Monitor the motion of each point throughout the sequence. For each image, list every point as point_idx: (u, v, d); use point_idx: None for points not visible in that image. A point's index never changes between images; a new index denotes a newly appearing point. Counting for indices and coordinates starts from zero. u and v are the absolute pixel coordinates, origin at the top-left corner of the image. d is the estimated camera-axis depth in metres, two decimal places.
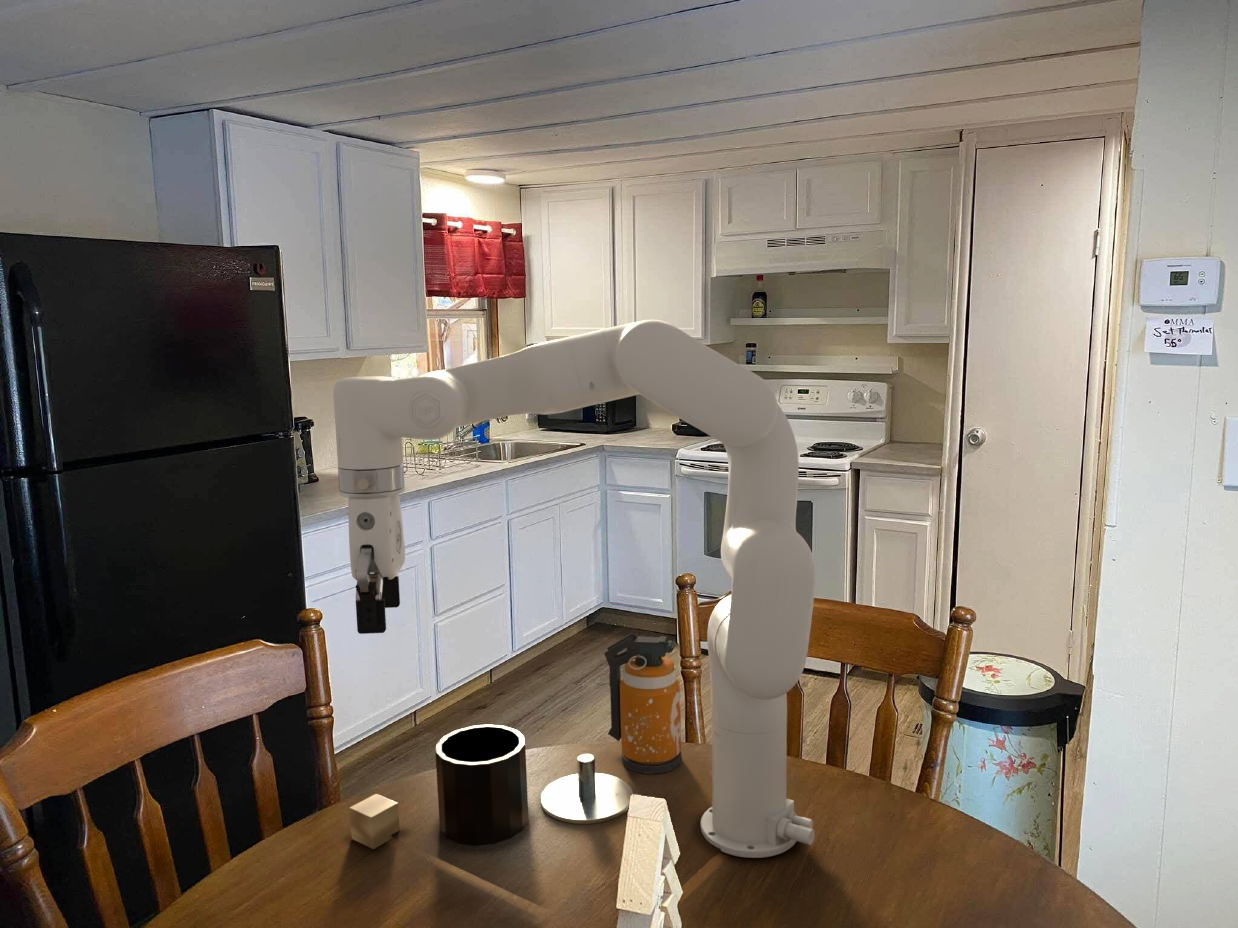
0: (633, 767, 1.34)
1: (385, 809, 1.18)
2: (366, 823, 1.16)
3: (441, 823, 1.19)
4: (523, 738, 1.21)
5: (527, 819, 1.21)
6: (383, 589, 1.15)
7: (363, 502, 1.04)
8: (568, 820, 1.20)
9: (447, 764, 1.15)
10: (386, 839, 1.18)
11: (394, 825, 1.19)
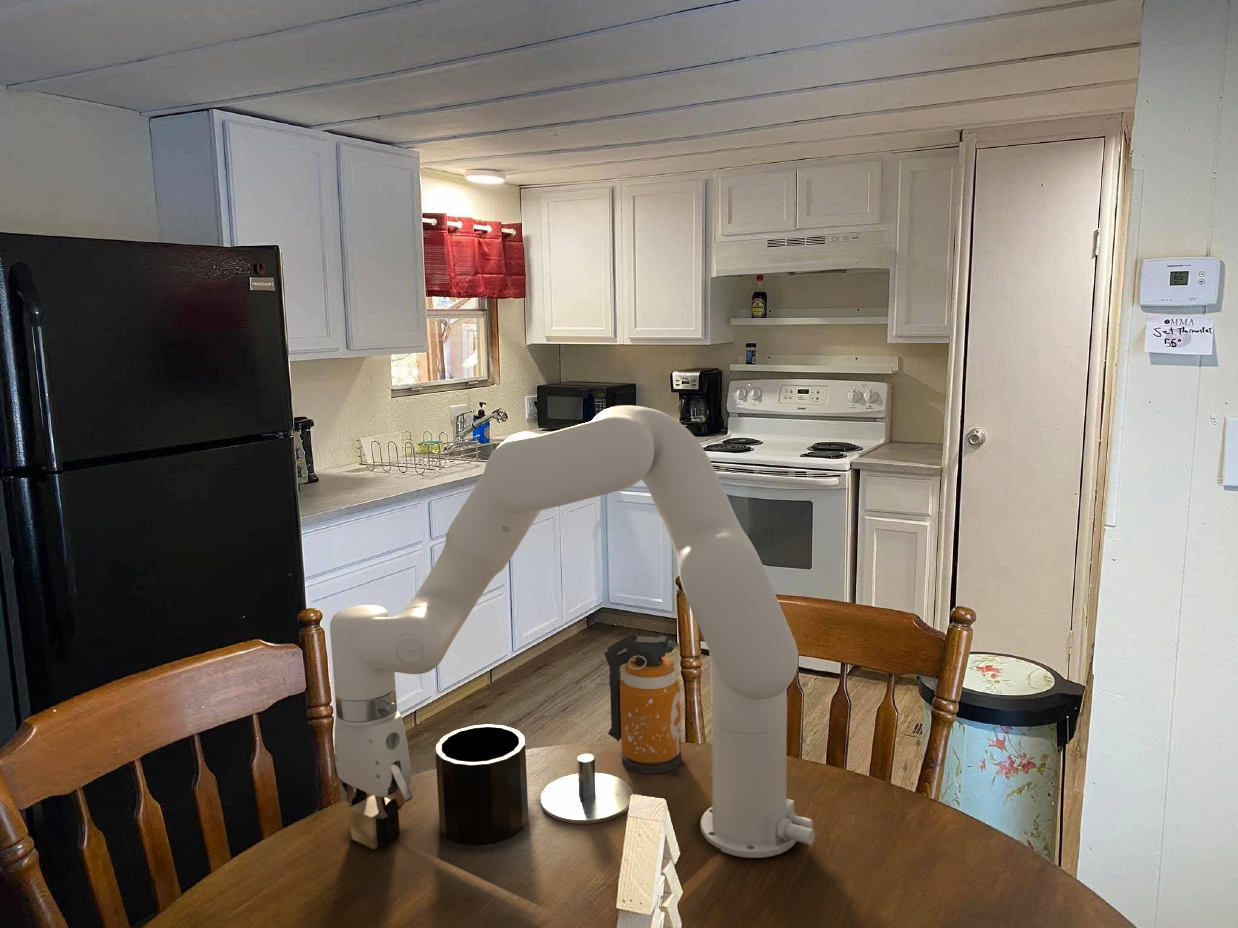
0: (633, 767, 1.34)
1: None
2: (366, 823, 1.16)
3: (441, 823, 1.19)
4: (523, 738, 1.21)
5: (527, 819, 1.21)
6: None
7: (389, 724, 1.14)
8: (568, 820, 1.20)
9: (447, 764, 1.15)
10: None
11: None
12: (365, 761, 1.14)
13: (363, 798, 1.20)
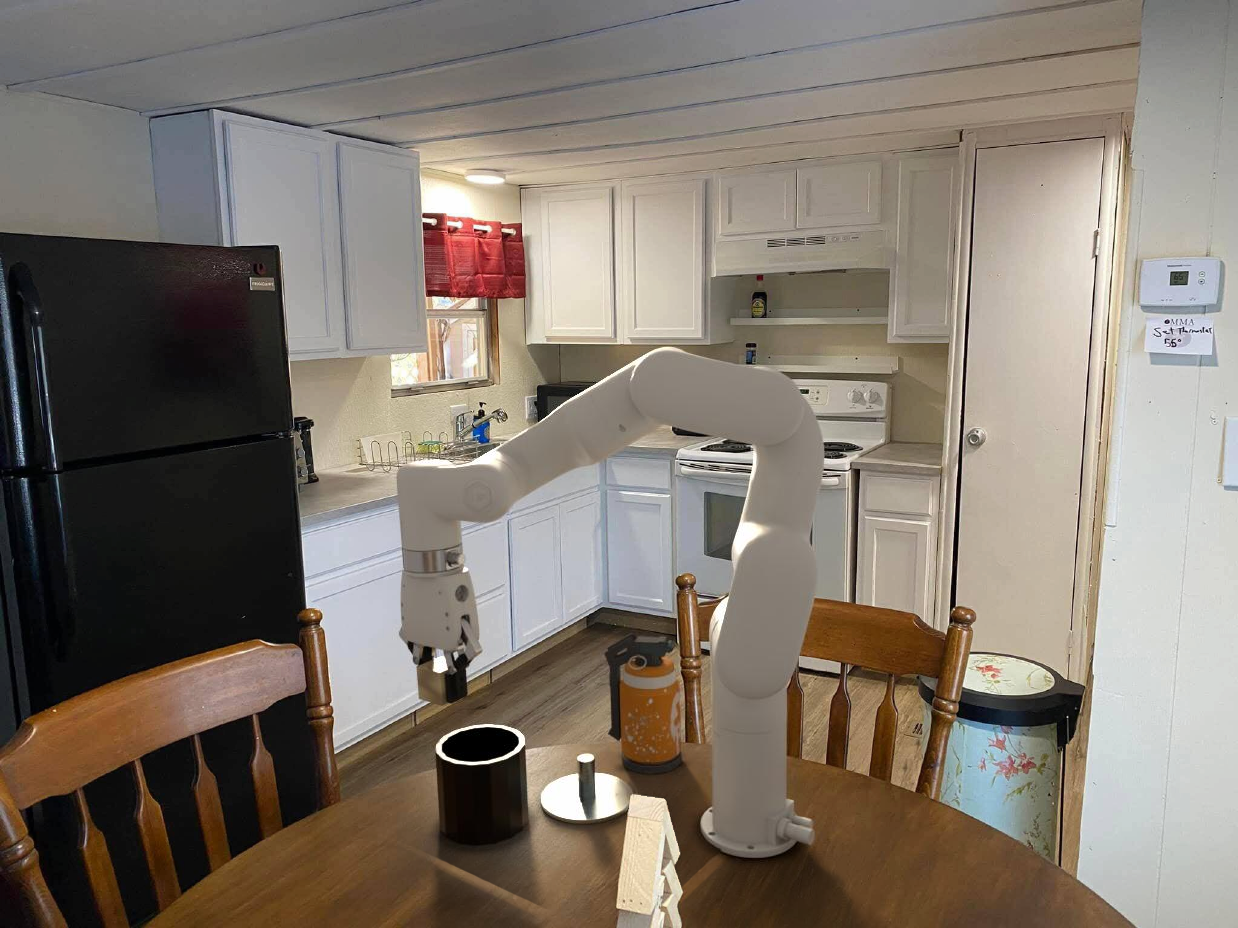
0: (633, 767, 1.34)
1: None
2: (434, 680, 1.15)
3: (441, 823, 1.19)
4: (523, 738, 1.21)
5: (527, 819, 1.21)
6: None
7: (457, 576, 1.13)
8: (568, 820, 1.20)
9: (447, 764, 1.15)
10: None
11: None
12: (434, 614, 1.13)
13: (429, 659, 1.19)
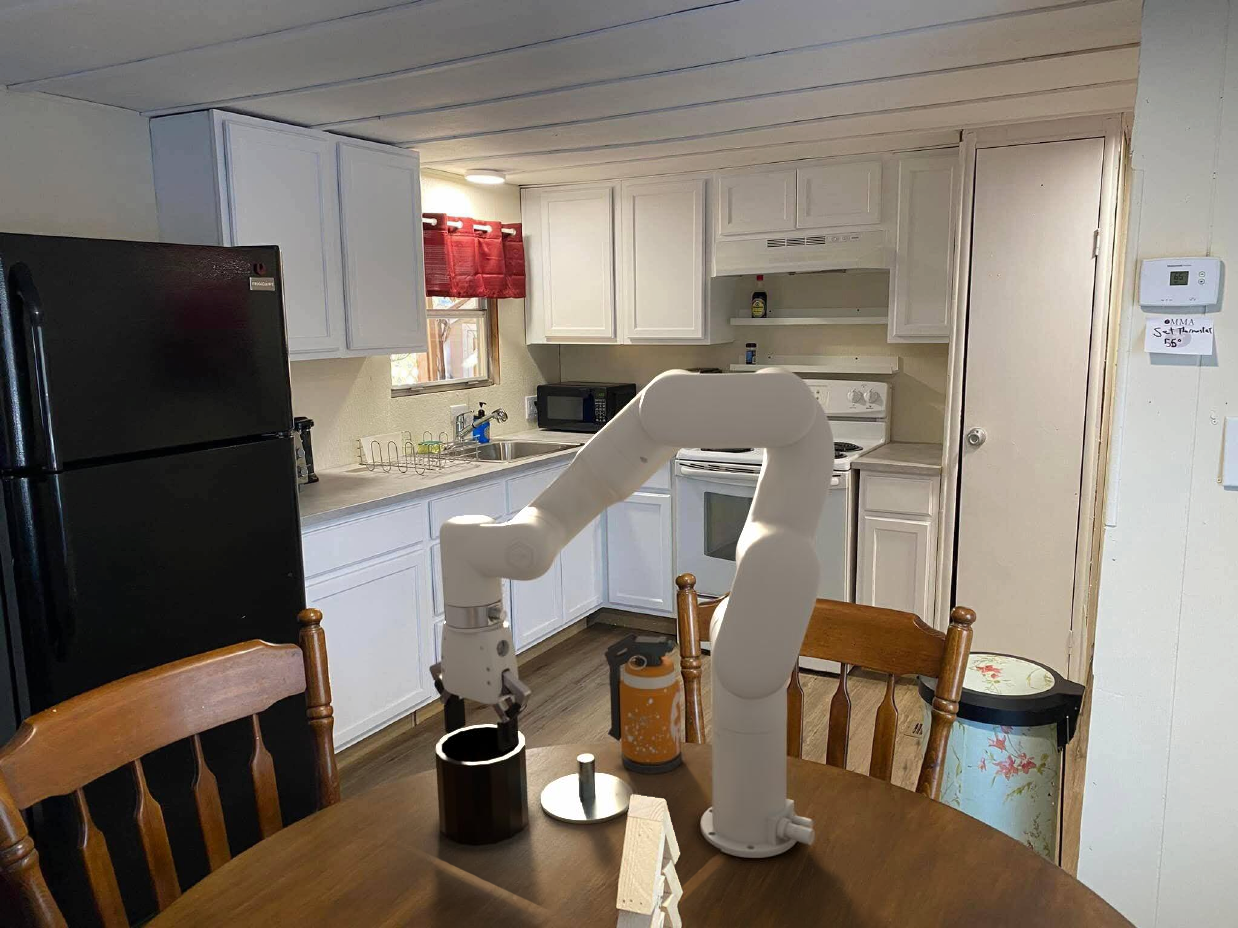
0: (633, 767, 1.34)
1: None
2: None
3: (441, 823, 1.19)
4: (523, 738, 1.21)
5: (527, 819, 1.21)
6: (455, 713, 1.22)
7: (499, 632, 1.15)
8: (568, 820, 1.20)
9: (447, 764, 1.15)
10: None
11: None
12: (475, 669, 1.15)
13: (456, 698, 1.22)
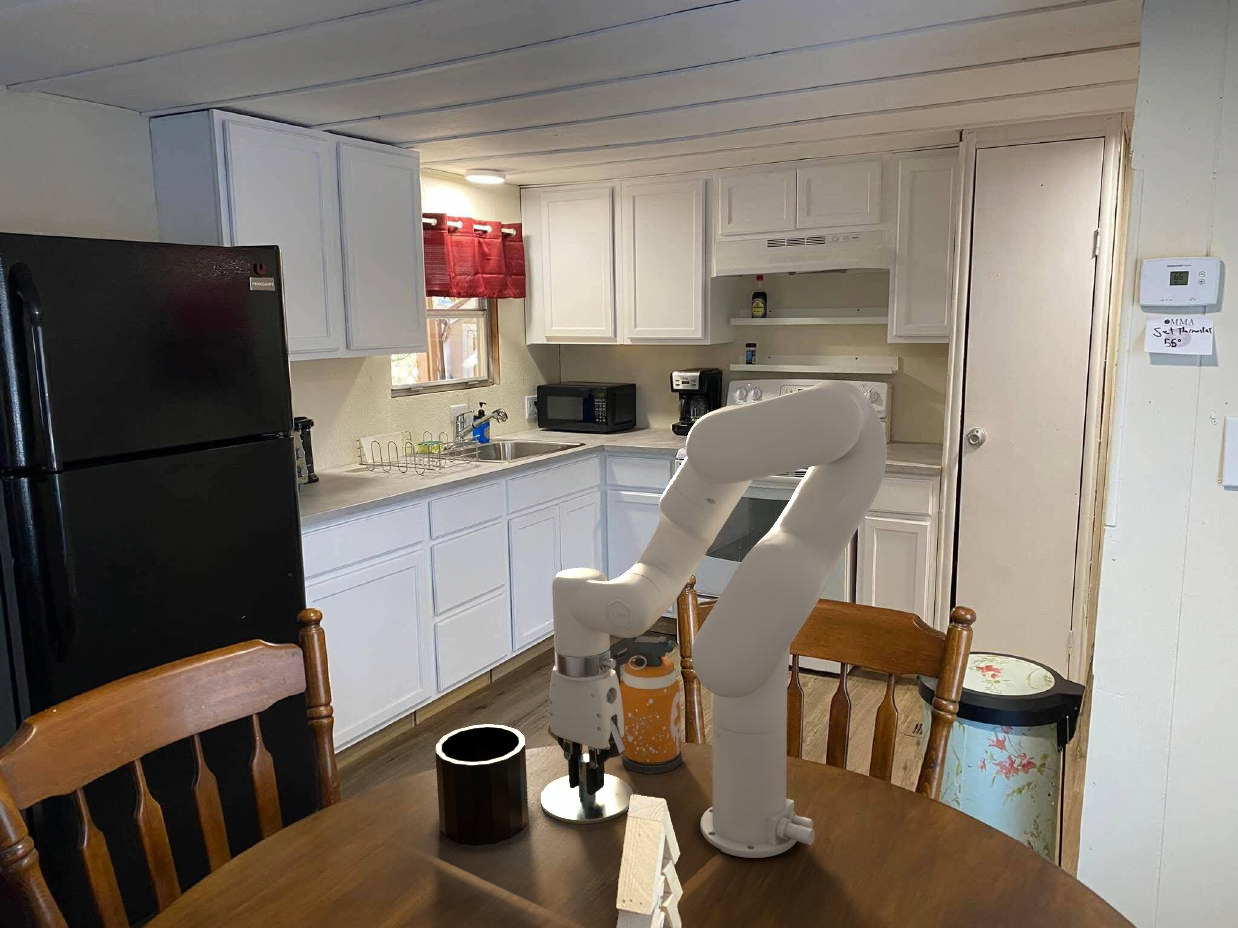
0: (633, 767, 1.34)
1: None
2: None
3: (441, 823, 1.19)
4: (523, 738, 1.21)
5: (527, 819, 1.21)
6: None
7: (608, 680, 1.21)
8: (568, 820, 1.20)
9: (447, 764, 1.15)
10: None
11: None
12: (585, 714, 1.21)
13: (579, 754, 1.26)
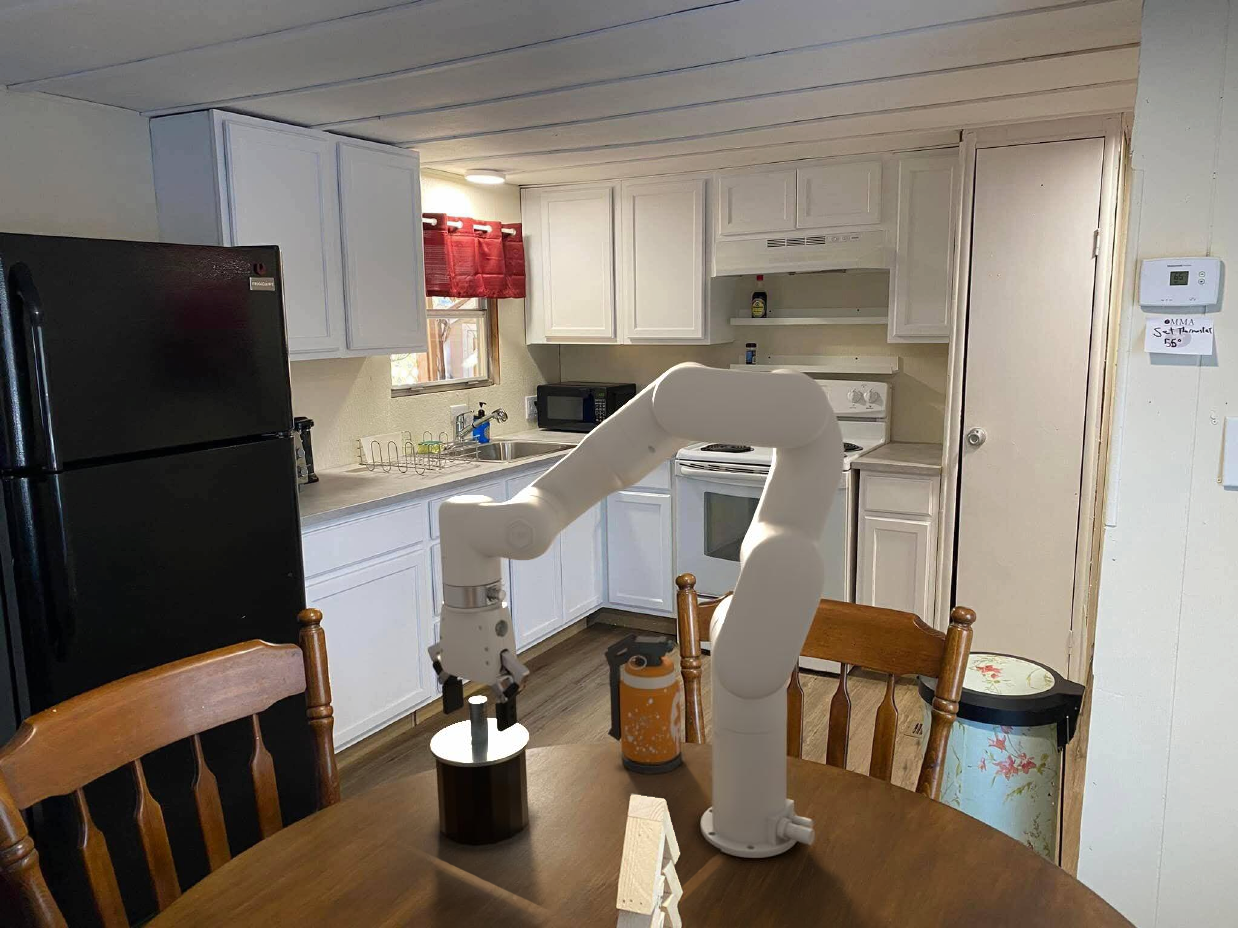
0: (633, 767, 1.34)
1: None
2: None
3: (441, 823, 1.19)
4: None
5: (527, 819, 1.21)
6: (453, 694, 1.21)
7: (497, 612, 1.14)
8: (454, 763, 1.14)
9: (447, 764, 1.15)
10: None
11: None
12: (474, 649, 1.14)
13: (454, 679, 1.21)
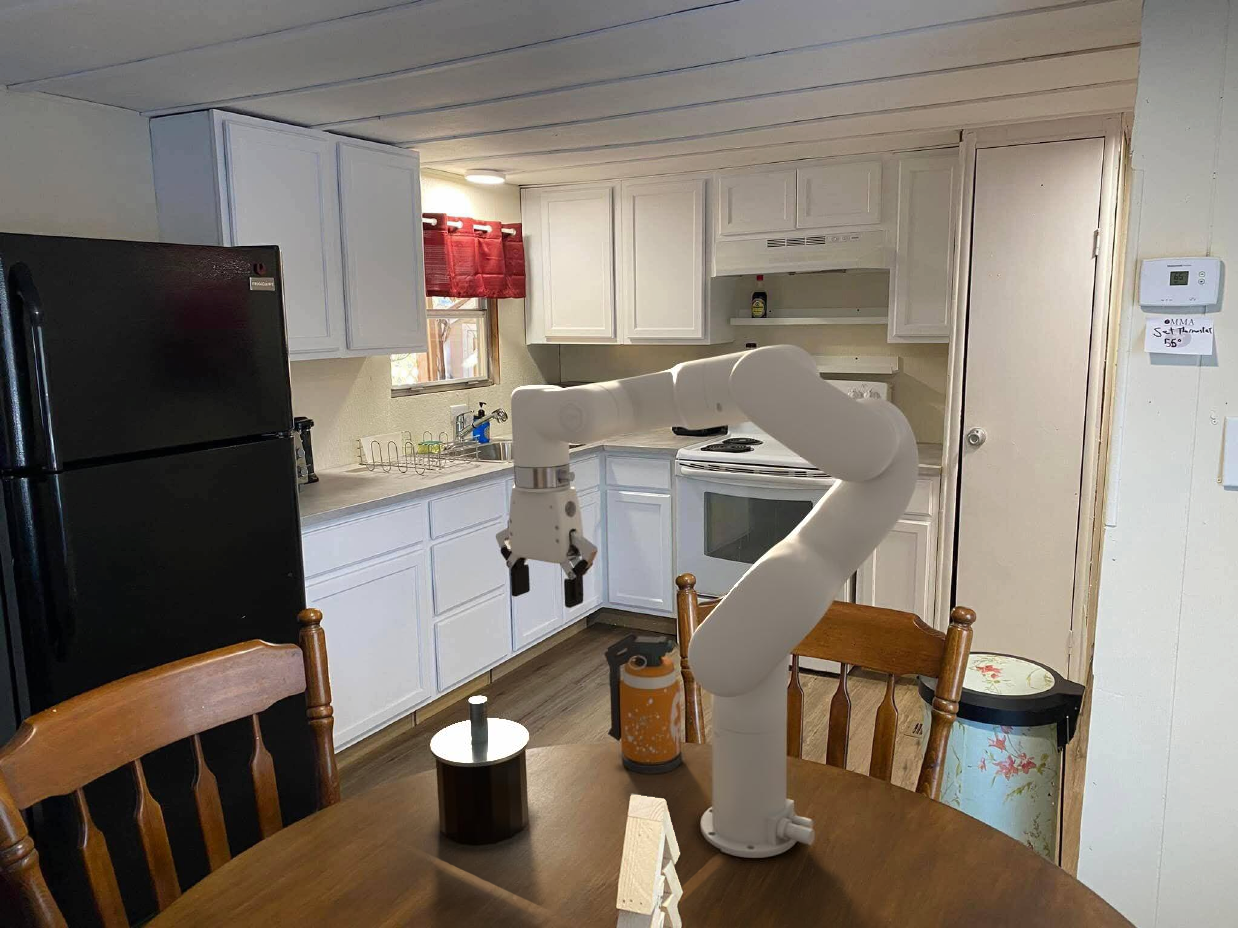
0: (633, 767, 1.34)
1: None
2: None
3: (441, 823, 1.19)
4: None
5: (527, 819, 1.21)
6: (521, 578, 1.28)
7: (567, 493, 1.21)
8: (454, 763, 1.14)
9: (447, 764, 1.15)
10: None
11: None
12: (544, 528, 1.21)
13: (521, 564, 1.28)
